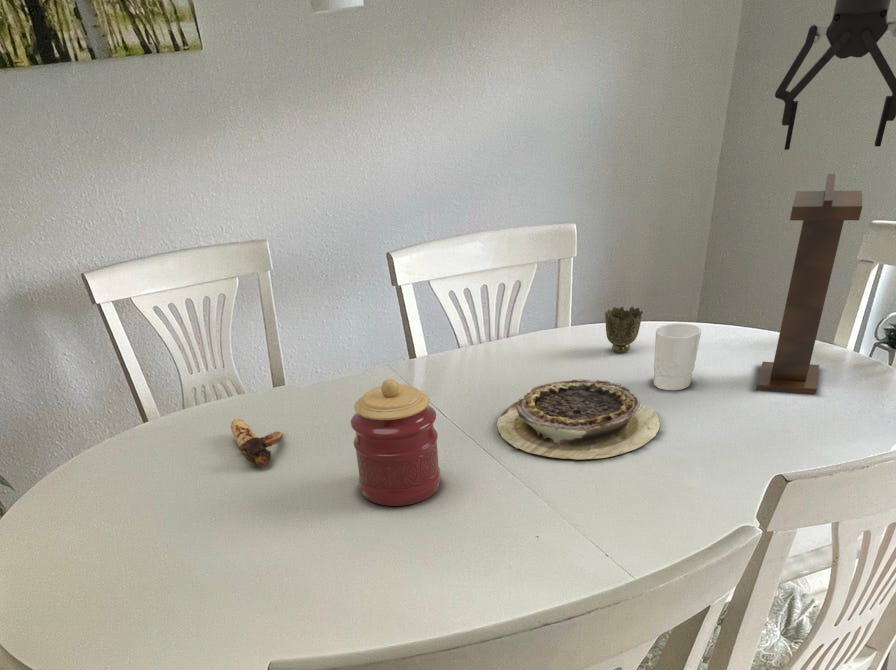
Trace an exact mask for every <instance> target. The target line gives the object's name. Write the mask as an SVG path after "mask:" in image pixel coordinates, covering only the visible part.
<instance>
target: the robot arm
mask: <svg viewBox="0 0 896 670" xmlns="http://www.w3.org/2000/svg"><path fill="white" fill-rule="evenodd" d="M891 1H892V0H835V3H834V7H833V8H834V9H833V13H832V19H831V22H830V23H829V25H828V26H826V25H825V26H824V25H817V24H812V25H810V27H809V28H808V31H807V35H806V39H805V42H804V44H803V46H802V47H801V48H800V50H799V52H798V54H797V55H796V57H795V59H794V60H793V62H792V64H791V65H790V67H789V69H788V71H787V72H786V74H785V75H784V77H783V79H782V80H781V82H780V84H779V85H778V87H777V88H776V91H775V93H774V97H775V98H776V99H779V100H781V101H783V102H784V109H783V114H782V119H781V126H787V127H788V128H787V131H786V138H785V144H784V151H785V150H786V151H787V150H790V146H791V142H792V137H793V132H794V131H793V130H794V126H795V121H796V116H797V115H796V114H797V111H798V104H799V100H795V99H796V98H797V97H798V96H799V95H800V94H801V92H803V90H804V89H805V88H806V87H807V86H808V85H809V84H810V82H812V80H813V79H814V78H815V77H816V76H817V75H818V74H819V72H821V70H822V69H823V68H824V67H825V66H826V65H827V64H828V63H829V62H830V61H831V60H832V59H833V57H834V56H835V57H836V58H838V59H840V60H841V59H842V60H843V59H848V58H850V57H853V58H862V57H864V56H865V57H866V55H868V54H870V56H871V58H872V59H873V61H874V63H875V65H876V67H877V68H878V70H879V72H880V74H881V76H882V77H883V79H884V81H885V82H886V84H887V86H888V88H889V90H890V91H891V95H886V96H885V100H884V104H883V107H882V112H881V115H880V121H879V125H878V128H877V131H876V136H875V139H874V147H876V148H877V147H881V146H882V142H883V138H884V134H885V130H886V127H887V122H893V121H894V120H895V119H896V76H895V74H894V72H893V70H892V69H891V66H890V65H889V63H888V61H887V59H886V57H885V56H884V54H883V52H882V50H881V49H880V47H879V45H878V42H879V41H880V40H881V38H882V37H883V36H884V35H885V34H886V32H887V31H890V33H891V37H893V38H896V19H894V20H890V21H889V20H888V14H889V8H890V4H891ZM824 36H826V39H827V42H828V44H829V45H830V46H829V47H828V48H827V50H826V51H825V52H824V53H823V54H822V55H821V56H820V58H818V60H817V61H816V62H815V63H814V64H813V65H812V67H810V69H809V70H808V71H807V72H806V73H805V74H804V75H803V77H802V78H800V80H799V81H798V82H797V83H796V84H795V85H794V86H793V88H791V90H787V89H788V87H789V85H790V84H791V82H792V81H793V79H794V77H795V76H796V75H797V72H799V71H798V70H799V69H800V68H801V66H802V64H803V62H804V61H805V59H806V57H807V56H808V54H809V53H810V51H811V49H812V47H813V45H814V44H817V43H818V42H819V41H820V40H821V39H822V37H824Z"/></svg>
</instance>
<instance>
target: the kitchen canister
mask: <svg viewBox="0 0 896 670" xmlns="http://www.w3.org/2000/svg"><path fill="white" fill-rule="evenodd" d="M430 402H431V400H430V397H429V395H428V394H426V392H424V391H421V390H419V389H418V388H417V387H415V386H413V385H408V384H400V383H398V381H397V380H395V379H393V378H387V379H385V380H383V381H382V383H381V385H380V386H376V387H374V388H372V389H369V390H367V391H365V393H364V394H363V395H362V396H361V397H359V398H358V399H357V400H356V401H355V403H354V407H353V409H354V412H355V413H354V414H353V416H352V417H351V419H350V426H351V428H352V430H353V431H354V432H355V437H354V439H353V446H354V449H355V454H356V460H357V461H356V462H357V470H358V484H359V488H360V489H361V492H362V493H361V494H362V495H363V496H364V498H365V499H367V500H368V501H370V502H371V503H374V504H377V505H382V506H389V507H399V506H400V507H401V506H409V505H413V504H417V503H421V502H422V501H424V500H427V499H429V498H430V497H432V496H433V495H434V494H435V493H436V492H437V491H438V490H439V488H440V481H441V469H440V465H439V454H438V453H439V450H438V438H439V437H438V432H437V430H436V429H435V427H434V423H435V421H436V420H437V412H436V410H435V409H434V407H432V406H431V405H430Z"/></svg>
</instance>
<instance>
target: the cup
mask: <svg viewBox="0 0 896 670" xmlns="http://www.w3.org/2000/svg"><path fill="white" fill-rule="evenodd" d="M643 314H644V312H643V310H641V308H640V307H636V308H635V307H634V306H631V307H629V309H625V307H623V306H620V307H616V306H614V307H613V308H612V309H609V308H608V310H606V311H605V312H604V317H605V335H606V339H607V340H608V342H609V343H610V344H611V345H612V346H611V349H612V351H613V352H614V353H617V354H618V353H619V354H623V353H627V352H628V351H630V348H631V344H632V343H634V342H635V340H636V339H637V337H638V335H639V333H640V332H639V331H640V327H641V324H642V319H643V318H642V317H643Z"/></svg>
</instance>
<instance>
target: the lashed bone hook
mask: <svg viewBox="0 0 896 670" xmlns="http://www.w3.org/2000/svg"><path fill="white" fill-rule="evenodd" d="M230 431H231V433H232V435H233V438H234V440H235V442H236V444H237V445H238V449H239V451H241V452H242V453H243V454H244V455H245V456H246V457H247V459H248V460H250V461H251V462H253V463H254V464H255V465H256V466H258V467H261V468H263V467H266V466H268V465H270V461H271V456H272V451H271V450H268V449H267V448H268V447H269V448H270V447H272V446H273V445H276V444H278V443H279V442H280V441H281V440H282V439H283V433H282V432H280V431H274V432H273V433H272V434H268V435H265V436H262V437H257V435H256V434H255V433H254V431H253V430H252V429H251V427H250V426H249V424H247V423H246V422H245V421H244V420H243V419H241V418H235V419H233V420H232V421H231V424H230Z"/></svg>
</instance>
